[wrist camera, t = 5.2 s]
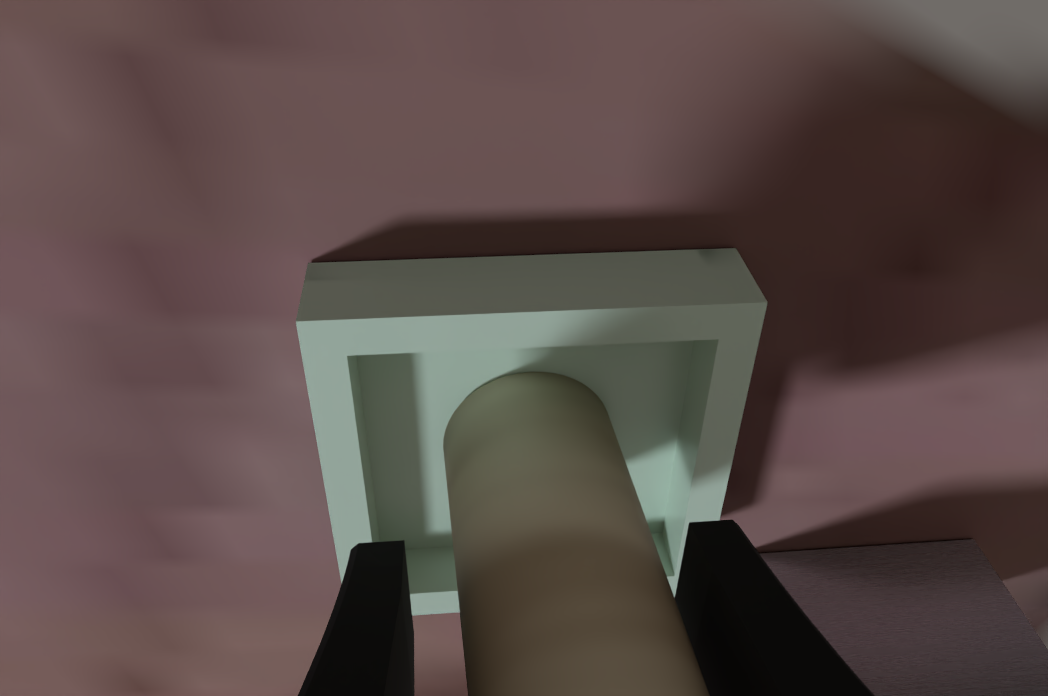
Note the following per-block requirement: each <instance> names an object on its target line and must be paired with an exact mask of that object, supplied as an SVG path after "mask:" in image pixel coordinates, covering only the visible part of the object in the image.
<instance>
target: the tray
mask: <svg viewBox="0 0 1048 696" xmlns="http://www.w3.org/2000/svg"><path fill="white" fill-rule="evenodd" d="M767 303H768V302H767V300H766V299H765V297H764V295H763V294H762V292H761V290H760V288H759V287H758V285H757V283H756V282H755V280H754V278H753V276H752V275H751V273H750V271H749V270H748V268H747V266H746V265H745V263H744V261H743V259H742V258H741V256H740V254H739V253H738V251H737V249H736V248H723V249H694V250H666V251H637V252H608V253H580V254H551V255H522V256H494V257H465V258H437V259H408V260H379V261H351V262H322V263H308V266H307V271H306V275H305V280H304V285H303V290H302V295H301V299H300V304H299V309H298V314H297V318H296V325H297V331H298V337H299V342H300V348H301V354H302V360H303V365H304V371H305V377H306V382H307V388H308V394H309V400H310V405H311V411H312V417H313V423H314V428H315V434H316V440H317V445H318V451H319V457H320V463H321V468H322V474H323V480H324V486H325V491H326V497H327V503H328V508H329V514H330V520H331V526H332V531H333V537H334V543H335V549H336V554H337V560H338V566H339V571H340V577H341V583H342V581H343V578H344V575H345V571H346V568H347V564H348V560H349V555H350V551H351V549H352V548H353V547H354V546H356V545H357V544H358V543H368V542H384V541H400V540H404V541H405V551H406V561H407V571H408V581H409V591H410V600H411V610H412V615H425V614H440V613H454V612H460V609H459V599H458V589H457V580H456V570H455V560H454V550H453V540H452V530H451V520H450V510H449V500H448V490H447V481H446V471H445V461H444V451H443V439H444V434H445V429H446V427H447V424H448V422H449V420H450V418H451V416H452V414H453V413H454V411H455V410H456V409H457V408H458V406H459V405H460V404H461V403H462V402H463V401H464V400H465V399H466V398H467V397H468V396H469V395H471V394H472V393H473V392H474V391H476V390H477V389H479V388H481V387H482V386H484V385H486V384H488V383H490V382H492V381H494V380H496V379H499V378H502V377H505V376H509V375H513V374H517V373H525V372H549V373H556V374H560V375H564V376H567V377H570V378H573V379H575V380H577V381H579V382H581V383H583V384H584V385H586V386H587V387H589V388H590V389H591V390H592V391H593V392H594V393H595V394H597V396H598V397H599V398H600V399H601V401H602V402H603V404H604V406H605V408H606V410H607V412H608V415H609V418H610V421H611V423H612V426H613V429H614V432H615V435H616V437H617V440H618V443H619V446H620V448H621V451H622V454H623V457H624V459H625V462H626V465H627V468H628V471H629V473H630V476H631V479H632V482H633V484H634V487H635V490H636V493H637V495H638V498H639V501H640V504H641V507H642V509H643V512H644V515H645V518H646V520H647V523H648V526H649V529H650V532H651V534H652V537H653V540H654V543H655V545H656V548H657V551H658V554H659V556H660V559H661V562H662V565H663V568H664V570H665V573H666V576H667V579H668V581H669V584H670V587H671V590H672V592H673V595H674V597H675V594H676V588H677V583H678V578H679V573H680V567H681V562H682V557H683V552H684V547H685V541H686V536H687V531H688V526H689V522H703V521H719V520H720V515H721V511H722V506H723V502H724V497H725V493H726V488H727V484H728V479H729V475H730V470H731V466H732V461H733V457H734V452H735V448H736V443H737V439H738V434H739V429H740V425H741V420H742V416H743V411H744V407H745V402H746V398H747V393H748V389H749V384H750V380H751V375H752V371H753V366H754V362H755V357H756V353H757V348H758V344H759V339H760V335H761V330H762V326H763V321H764V317H765V312H766V308H767Z"/></svg>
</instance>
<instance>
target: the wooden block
mask: <svg viewBox="0 0 1048 696" xmlns="http://www.w3.org/2000/svg"><path fill="white" fill-rule="evenodd" d="M759 554H760V556H761V557H762V558H763V560H764V561H765V562H766V564H767V565H768V566H769V568H770V569H771V570H772V572H773V573H774V574H775V576H776V577H777V578H778V580H779V581H780V582H781V584H782V585H783V586H784V587H785V589H786V590H787V591H788V593H789V594H790V595H791V596H792V598H793V599H794V600H795V602H796V603H797V604H798V605H799V607H800V608H801V609H802V610H803V612H804V613H805V614H806V615H807V617H808V618H809V619H810V620H811V622H812V623H813V624H814V625H815V627H816V628H817V629H818V630H819V631H820V632H821V634H822V635H823V636H824V637H825V638H826V640H827V641H828V642H829V643H830V644H831V646H832V647H833V648H834V649H835V650H836V652H837V653H838V654H839V655H840V656H841V658H842V659H843V660H844V661H845V662H846V664H847V665H848V666H849V667H850V668H851V669H852V670H853V672H854V673H855V674H856V675H857V676H858V677H859V678H860V680H861V681H862V682H863V683H864V684H865V685H866V686H867V687H868V689H869V690H870V691H871V692H872V693H873V694H874V695H875V696H1048V649H1047V648H1046V646H1045V645H1044V643H1043V642H1042V640H1041V639H1040V637H1039V636H1038V634H1037V633H1036V631H1035V630H1034V628H1033V627H1032V625H1031V624H1030V622H1029V621H1028V619H1027V618H1026V616H1025V615H1024V613H1023V612H1022V610H1021V609H1020V607H1019V606H1018V604H1017V603H1016V601H1015V600H1014V598H1013V597H1012V595H1011V594H1010V592H1009V591H1008V589H1007V588H1006V586H1005V585H1004V584H1003V582H1002V581H1001V579H1000V578H999V576H998V575H997V573H996V572H995V570H994V569H993V567H992V566H991V564H990V563H989V561H988V560H987V558H986V557H985V555H984V554H983V552H982V551H981V549H980V548H979V546H978V545H977V543H976V542H975V540H974V539H970V540H955V541H940V542H925V543H910V544H895V545H880V546H865V547H850V548H835V549H819V550H804V551H789V552H774V553H759Z"/></svg>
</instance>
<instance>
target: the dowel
mask: <svg viewBox="0 0 1048 696" xmlns="http://www.w3.org/2000/svg"><path fill="white" fill-rule="evenodd" d="M443 451H444V461H445V471H446V481H447V490H448V500H449V510H450V520H451V530H452V540H453V550H454V560H455V570H456V580H457V589H458V599H459V609H460V619H461V629H462V639H463V649H464V659H465V669H466V679H467V688H468V696H710V695H709V692H708V689H707V687H706V684H705V681H704V678H703V676H702V673H701V670H700V667H699V665H698V662H697V659H696V656H695V653H694V651H693V648H692V645H691V642H690V640H689V637H688V634H687V631H686V629H685V626H684V623H683V620H682V617H681V615H680V612H679V609H678V606H677V604H676V601H675V598H674V595H673V592H672V590H671V587H670V584H669V581H668V579H667V576H666V573H665V570H664V568H663V565H662V562H661V559H660V556H659V554H658V551H657V548H656V545H655V543H654V540H653V537H652V534H651V532H650V529H649V526H648V523H647V520H646V518H645V515H644V512H643V509H642V507H641V504H640V501H639V498H638V495H637V493H636V490H635V487H634V484H633V482H632V479H631V476H630V473H629V471H628V468H627V465H626V462H625V459H624V457H623V454H622V451H621V448H620V446H619V443H618V440H617V437H616V435H615V432H614V429H613V426H612V423H611V421H610V418H609V415H608V412H607V410H606V408H605V406H604V404H603V402H602V401H601V399H600V398H599V397H598V396H597V394H595V393H594V392H593V391H592V390H591V389H590V388H589V387H587V386H586V385H584V384H583V383H581V382H579V381H577V380H575V379H573V378H570V377H567V376H564V375H560V374H556V373H549V372H525V373H517V374H513V375H509V376H505V377H502V378H499V379H496V380H494V381H492V382H490V383H488V384H486V385H484V386H482V387H481V388H479V389H477V390H476V391H474V392H473V393H472V394H471V395H469V396H468V397H467V398H466V399H465V400H464V401H463V402H462V403H461V404H460V405H459V406H458V408H457V409H456V410H455V411H454V413H453V414H452V416H451V418H450V420H449V422H448V424H447V427H446V429H445V434H444V439H443Z"/></svg>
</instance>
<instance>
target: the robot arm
mask: <svg viewBox="0 0 1048 696" xmlns="http://www.w3.org/2000/svg"><path fill="white" fill-rule="evenodd" d="M675 601H676V604H677V606H678V609H679V612H680V615H681V617H682V620H683V623H684V626H685V629H686V631H687V634H688V637H689V640H690V642H691V645H692V648H693V651H694V653H695V656H696V659H697V662H698V665H699V667H700V670H701V673H702V676H703V678H704V681H705V684H706V687H707V689H708V692H709V695H710V696H875V695H874V694H873V693H872V692H871V691H870V690H869V689H868V687H867V686H866V685H865V684H864V683H863V682H862V681H861V680H860V678H859V677H858V676H857V675H856V674H855V673H854V672H853V670H852V669H851V668H850V667H849V666H848V665H847V664H846V662H845V661H844V660H843V659H842V658H841V656H840V655H839V654H838V653H837V652H836V650H835V649H834V648H833V647H832V646H831V644H830V643H829V642H828V641H827V640H826V638H825V637H824V636H823V635H822V634H821V632H820V631H819V630H818V629H817V628H816V627H815V625H814V624H813V623H812V622H811V620H810V619H809V618H808V617H807V615H806V614H805V613H804V612H803V610H802V609H801V608H800V607H799V605H798V604H797V603H796V602H795V600H794V599H793V598H792V596H791V595H790V594H789V593H788V591H787V590H786V589H785V587H784V586H783V585H782V584H781V582H780V581H779V580H778V578H777V577H776V576H775V574H774V573H773V572H772V570H771V569H770V568H769V566H768V565H767V564H766V562H765V561H764V560H763V558H762V557H761V556H760V554H759V553H758V551H757V550H756V549H755V547H754V546H753V545H752V543H751V542H750V540H749V539H748V538H747V536H746V535H745V534H744V532H743V531H742V529H741V528H740V527H739V525H738V524H737V523H735V522H734V521H733V520H719V521H703V522H689V526H688V531H687V536H686V541H685V547H684V552H683V557H682V562H681V567H680V573H679V578H678V583H677V588H676V594H675ZM298 696H414V630H413V620H412V610H411V600H410V591H409V581H408V571H407V561H406V551H405V541H404V540H400V541H384V542H368V543H358V544H357V545H356V546H354V547H353V548H352V549H351V551H350V555H349V560H348V564H347V568H346V571H345V575H344V578H343V581H342V585H341V588H340V591H339V594H338V597H337V600H336V603H335V606H334V609H333V611H332V614H331V617H330V619H329V622H328V625H327V627H326V630H325V633H324V635H323V638H322V640H321V643H320V645H319V648H318V650H317V652H316V655H315V657H314V659H313V662H312V664H311V666H310V669H309V671H308V673H307V676H306V678H305V681H304V683H303V685H302V688H301V690H300V692H299V694H298Z"/></svg>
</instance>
